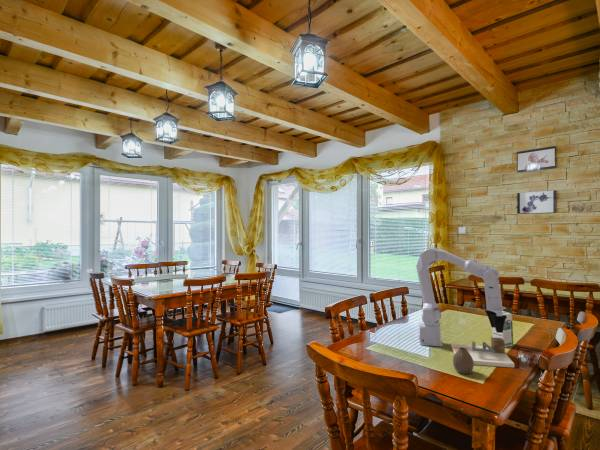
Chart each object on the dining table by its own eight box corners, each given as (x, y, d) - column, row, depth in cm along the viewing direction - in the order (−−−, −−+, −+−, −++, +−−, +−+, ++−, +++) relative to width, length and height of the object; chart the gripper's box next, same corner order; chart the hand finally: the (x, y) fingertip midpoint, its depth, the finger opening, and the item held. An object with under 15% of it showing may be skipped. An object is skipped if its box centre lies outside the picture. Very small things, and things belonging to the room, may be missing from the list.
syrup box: (503, 347, 149) (502, 314, 149) (492, 343, 155) (491, 311, 155) (513, 346, 151) (512, 313, 151) (502, 341, 157) (501, 310, 157)
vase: (467, 367, 130) (466, 344, 130) (477, 375, 123) (476, 351, 123) (449, 368, 130) (449, 345, 130) (458, 376, 123) (458, 352, 123)
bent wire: (473, 357, 136) (472, 348, 136) (468, 349, 145) (468, 341, 145) (495, 359, 134) (495, 350, 134) (489, 350, 142) (489, 342, 142)
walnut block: (493, 352, 140) (493, 340, 140) (491, 349, 143) (490, 337, 143) (504, 353, 139) (504, 341, 139) (501, 349, 142) (501, 337, 142)
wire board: (458, 363, 134) (458, 359, 134) (451, 347, 151) (451, 343, 151) (514, 367, 129) (514, 363, 129) (500, 350, 146) (500, 346, 146)
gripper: (509, 299, 134) (513, 334, 133) (499, 293, 148) (502, 325, 147) (489, 300, 136) (493, 334, 135) (481, 294, 150) (484, 325, 149)
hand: (497, 329), depth 141 cm, fingers open, 7 cm apart
